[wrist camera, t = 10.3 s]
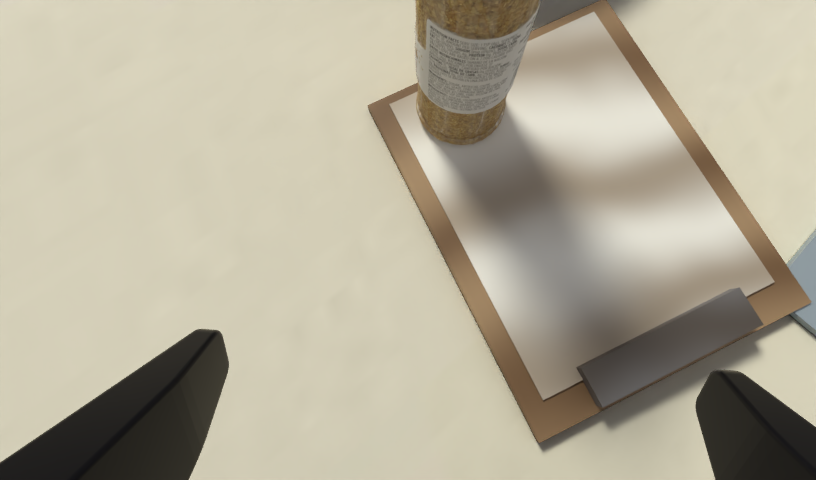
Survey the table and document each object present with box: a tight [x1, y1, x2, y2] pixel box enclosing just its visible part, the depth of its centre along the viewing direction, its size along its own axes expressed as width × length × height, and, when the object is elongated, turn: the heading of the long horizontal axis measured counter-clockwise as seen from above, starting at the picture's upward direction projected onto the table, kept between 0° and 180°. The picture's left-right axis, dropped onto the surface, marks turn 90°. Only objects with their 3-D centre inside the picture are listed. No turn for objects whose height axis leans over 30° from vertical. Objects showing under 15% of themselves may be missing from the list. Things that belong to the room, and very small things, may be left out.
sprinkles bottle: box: [415, 0, 541, 145], centre depth 18 cm, size 5×5×14 cm
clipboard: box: [368, 0, 811, 443], centre depth 23 cm, size 18×14×1 cm
